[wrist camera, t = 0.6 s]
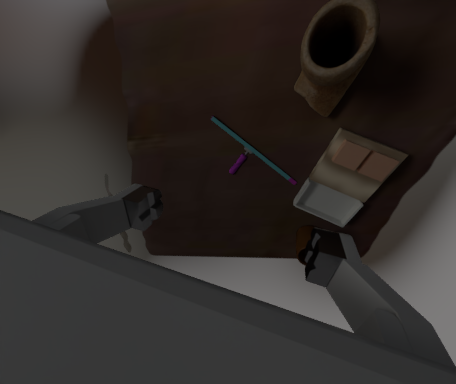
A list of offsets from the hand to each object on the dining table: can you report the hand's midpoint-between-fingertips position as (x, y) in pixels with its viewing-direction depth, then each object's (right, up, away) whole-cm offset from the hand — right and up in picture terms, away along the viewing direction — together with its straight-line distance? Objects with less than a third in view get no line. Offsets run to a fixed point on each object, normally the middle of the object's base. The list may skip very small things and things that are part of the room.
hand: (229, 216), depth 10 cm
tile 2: (+32, +7, +31) cm, 45 cm away
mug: (+26, -10, +46) cm, 54 cm away
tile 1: (+27, +10, +32) cm, 43 cm away
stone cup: (+20, +27, +28) cm, 44 cm away
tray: (+26, -1, +41) cm, 49 cm away
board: (+30, +8, +35) cm, 46 cm away
